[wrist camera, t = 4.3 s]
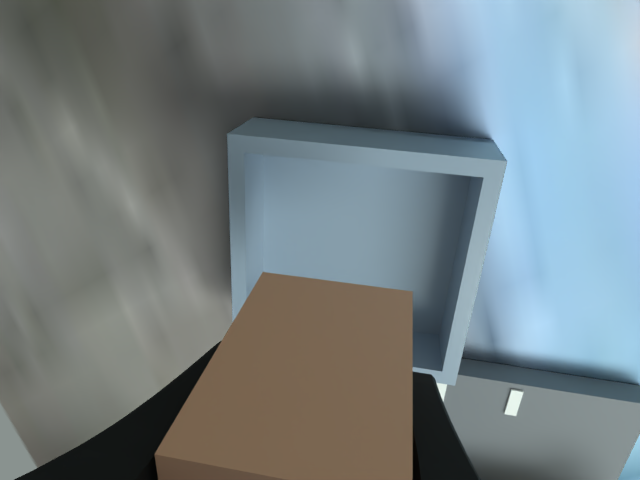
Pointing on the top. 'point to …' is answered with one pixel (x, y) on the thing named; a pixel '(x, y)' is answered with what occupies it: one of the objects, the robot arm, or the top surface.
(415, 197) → the tray
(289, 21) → the top surface
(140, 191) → the top surface
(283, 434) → the block
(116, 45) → the top surface
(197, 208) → the top surface
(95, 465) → the robot arm
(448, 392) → the plate
